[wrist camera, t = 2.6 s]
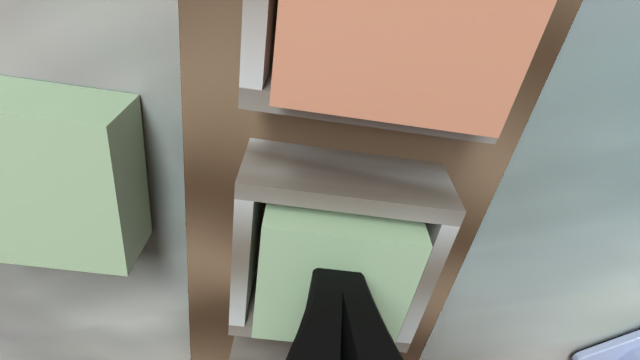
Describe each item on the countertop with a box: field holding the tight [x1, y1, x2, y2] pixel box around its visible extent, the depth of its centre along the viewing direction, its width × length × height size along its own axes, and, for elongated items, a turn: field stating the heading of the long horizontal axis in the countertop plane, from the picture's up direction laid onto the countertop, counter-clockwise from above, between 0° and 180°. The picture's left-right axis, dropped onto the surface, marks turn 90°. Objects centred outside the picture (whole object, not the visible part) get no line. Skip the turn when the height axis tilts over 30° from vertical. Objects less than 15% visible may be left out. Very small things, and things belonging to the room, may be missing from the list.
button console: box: [178, 0, 583, 360], centre depth 14 cm, size 28×10×4 cm, turn 172°
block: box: [0, 75, 152, 276], centre depth 14 cm, size 6×6×2 cm
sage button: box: [251, 203, 433, 343], centre depth 13 cm, size 4×4×3 cm
